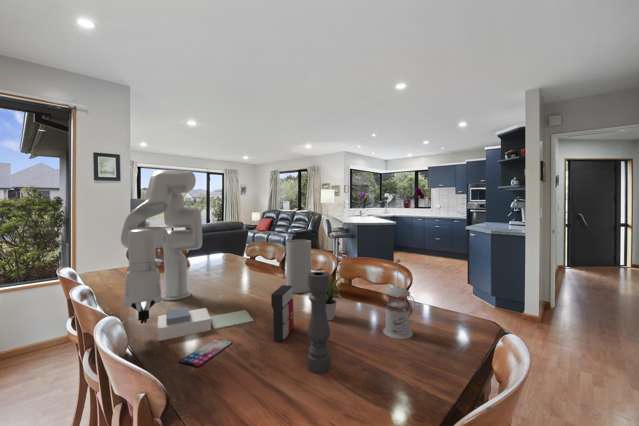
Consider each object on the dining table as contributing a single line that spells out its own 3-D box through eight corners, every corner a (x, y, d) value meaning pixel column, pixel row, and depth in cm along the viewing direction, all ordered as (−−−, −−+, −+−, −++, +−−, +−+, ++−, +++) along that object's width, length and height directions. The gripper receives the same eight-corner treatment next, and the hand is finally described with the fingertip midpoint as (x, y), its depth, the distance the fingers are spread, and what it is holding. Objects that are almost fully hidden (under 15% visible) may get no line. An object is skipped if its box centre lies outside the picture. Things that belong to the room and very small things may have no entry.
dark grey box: (284, 342, 90) (284, 295, 89) (271, 340, 91) (271, 294, 90) (294, 327, 100) (294, 285, 100) (282, 326, 101) (282, 284, 101)
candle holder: (307, 361, 79) (306, 271, 78) (329, 360, 79) (328, 270, 78) (308, 374, 72) (307, 277, 72) (332, 373, 73) (331, 276, 72)
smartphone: (234, 341, 90) (198, 367, 76) (234, 343, 90) (198, 369, 76) (214, 337, 92) (177, 361, 78) (214, 339, 92) (177, 364, 78)
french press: (376, 328, 99) (376, 257, 98) (403, 323, 103) (403, 254, 103) (395, 341, 90) (395, 262, 89) (423, 334, 94) (423, 259, 94)
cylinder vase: (310, 293, 138) (310, 242, 137) (285, 294, 138) (284, 242, 137) (311, 286, 150) (311, 239, 150) (288, 286, 151) (287, 239, 150)
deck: (158, 327, 101) (158, 316, 101) (206, 318, 109) (206, 307, 109) (157, 341, 91) (157, 328, 91) (210, 330, 98) (210, 318, 98)
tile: (166, 316, 101) (166, 310, 101) (187, 312, 104) (187, 307, 104) (166, 325, 93) (166, 319, 93) (189, 321, 97) (189, 315, 96)
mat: (209, 317, 109) (209, 316, 109) (245, 310, 116) (245, 310, 116) (213, 329, 99) (213, 328, 99) (253, 321, 106) (253, 320, 106)
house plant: (354, 313, 112) (354, 273, 112) (342, 327, 100) (341, 281, 99) (321, 308, 118) (321, 269, 118) (306, 321, 106) (305, 277, 105)
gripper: (168, 262, 100) (169, 313, 101) (116, 267, 93) (117, 322, 94) (168, 266, 94) (169, 321, 94) (113, 271, 87) (114, 331, 87)
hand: (143, 321), depth 94 cm, fingers closed
